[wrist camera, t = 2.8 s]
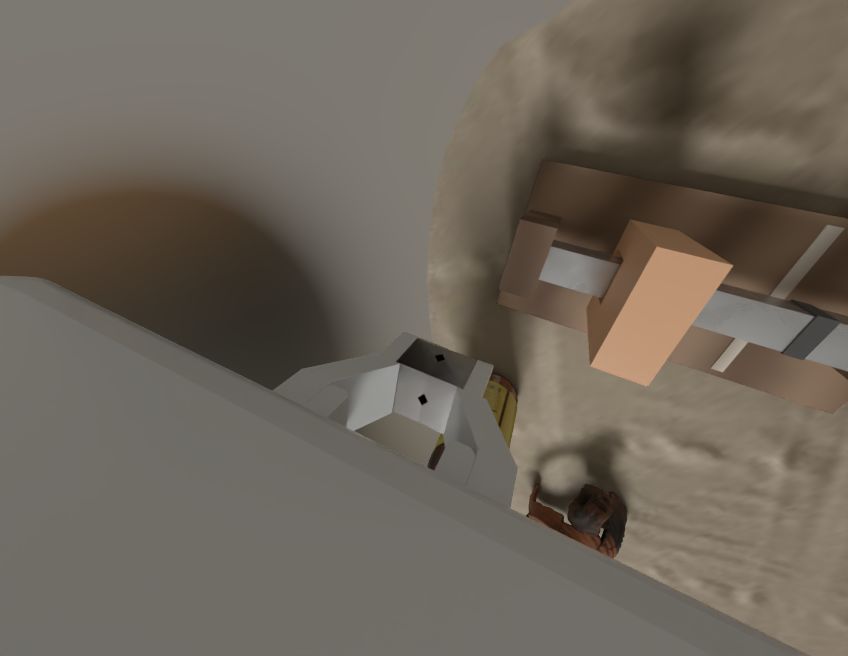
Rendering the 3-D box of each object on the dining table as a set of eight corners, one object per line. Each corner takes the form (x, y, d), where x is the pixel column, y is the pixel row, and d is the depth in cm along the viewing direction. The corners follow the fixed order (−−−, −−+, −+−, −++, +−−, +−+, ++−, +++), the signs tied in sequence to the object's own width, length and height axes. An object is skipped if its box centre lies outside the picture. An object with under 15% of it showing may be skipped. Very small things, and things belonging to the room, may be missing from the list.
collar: (678, 230, 21) (733, 265, 14) (626, 320, 24) (647, 386, 17) (630, 219, 22) (656, 246, 14) (586, 308, 25) (590, 366, 18)
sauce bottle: (453, 385, 37) (355, 558, 21) (493, 359, 33) (411, 544, 17) (491, 425, 37) (424, 627, 21) (534, 404, 33) (493, 628, 17)
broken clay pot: (618, 540, 37) (579, 598, 34) (549, 478, 43) (509, 522, 39) (664, 503, 29) (620, 574, 26) (571, 433, 35) (525, 483, 31)
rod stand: (1002, 248, 17) (1191, 285, 12) (823, 405, 23) (894, 475, 18) (543, 159, 24) (534, 157, 19) (498, 299, 30) (481, 328, 25)
